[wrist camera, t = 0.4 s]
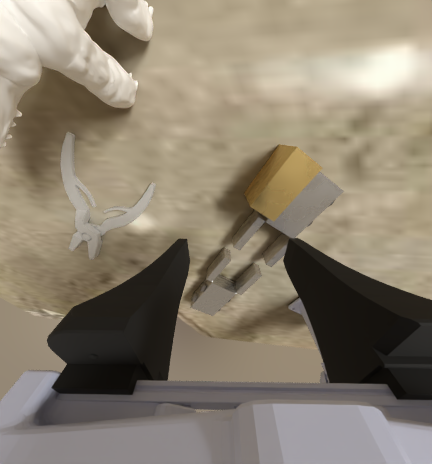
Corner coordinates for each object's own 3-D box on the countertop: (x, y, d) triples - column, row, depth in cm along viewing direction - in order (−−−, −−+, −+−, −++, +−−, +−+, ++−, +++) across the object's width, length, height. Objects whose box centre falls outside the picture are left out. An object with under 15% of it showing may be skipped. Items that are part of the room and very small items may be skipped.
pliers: (154, 188, 18) (115, 270, 24) (158, 185, 19) (120, 262, 26) (56, 130, 15) (41, 238, 22) (70, 130, 16) (52, 232, 23)
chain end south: (335, 189, 19) (349, 196, 17) (267, 256, 24) (271, 268, 22) (296, 158, 17) (306, 161, 15) (232, 237, 22) (233, 247, 20)
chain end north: (258, 265, 25) (262, 276, 23) (217, 305, 30) (217, 317, 28) (224, 247, 23) (224, 258, 21) (187, 293, 29) (185, 305, 27)
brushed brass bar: (299, 161, 17) (322, 168, 14) (263, 205, 20) (273, 221, 16) (278, 144, 17) (297, 146, 13) (243, 192, 19) (250, 206, 15)
